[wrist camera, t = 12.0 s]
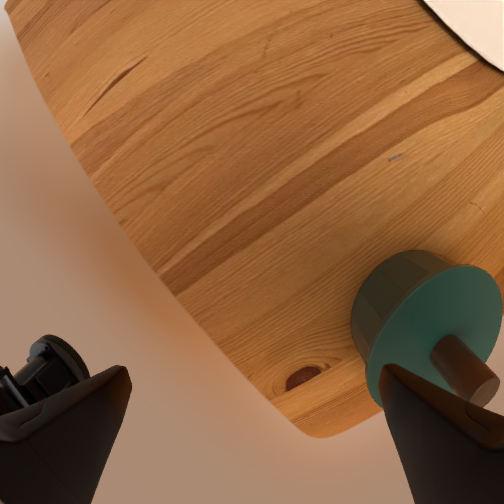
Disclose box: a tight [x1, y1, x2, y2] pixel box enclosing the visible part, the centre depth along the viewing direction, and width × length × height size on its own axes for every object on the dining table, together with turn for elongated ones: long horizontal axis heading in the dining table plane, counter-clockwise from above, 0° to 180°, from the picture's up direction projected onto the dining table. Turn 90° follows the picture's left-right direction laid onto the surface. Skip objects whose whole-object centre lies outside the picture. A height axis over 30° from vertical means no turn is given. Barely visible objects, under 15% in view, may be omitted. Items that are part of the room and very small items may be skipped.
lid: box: [365, 264, 503, 408], centre depth 12 cm, size 11×11×6 cm
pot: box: [351, 250, 457, 365], centre depth 17 cm, size 10×10×6 cm
